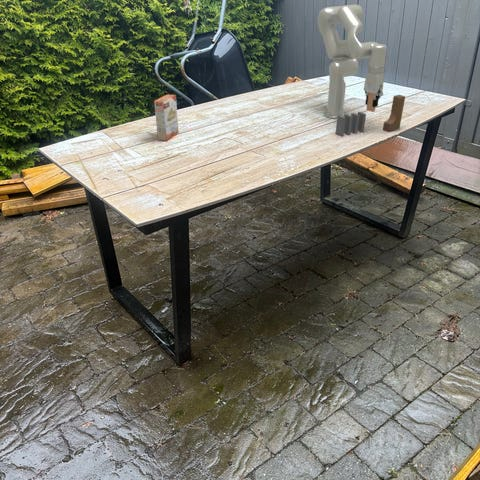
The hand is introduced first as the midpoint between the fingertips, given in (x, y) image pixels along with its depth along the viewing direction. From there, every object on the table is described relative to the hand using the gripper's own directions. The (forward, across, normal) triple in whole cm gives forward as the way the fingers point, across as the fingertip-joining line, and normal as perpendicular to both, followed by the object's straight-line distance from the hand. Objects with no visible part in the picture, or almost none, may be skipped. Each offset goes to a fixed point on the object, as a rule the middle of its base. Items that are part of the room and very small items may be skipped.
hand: (371, 105), depth 245 cm
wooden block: (+14, +6, +12) cm, 19 cm away
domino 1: (+14, 0, -19) cm, 23 cm away
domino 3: (+14, 0, -10) cm, 17 cm away
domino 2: (+14, 0, -14) cm, 20 cm away
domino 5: (+3, 0, 0) cm, 3 cm away
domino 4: (+14, 0, -6) cm, 15 cm away
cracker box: (+13, -40, -102) cm, 111 cm away
